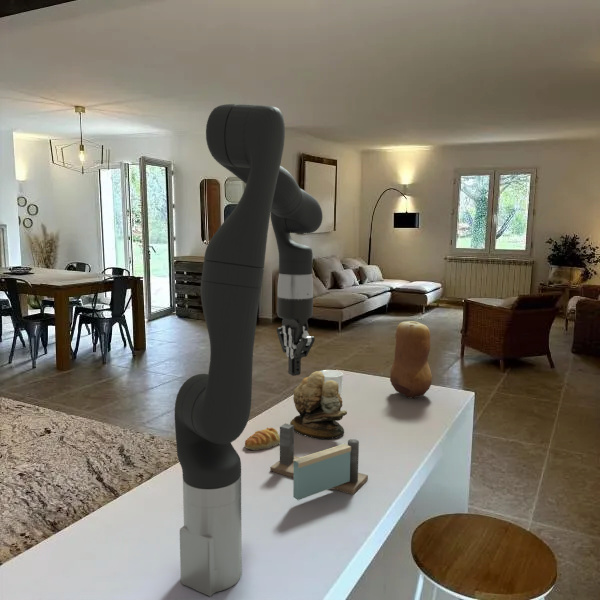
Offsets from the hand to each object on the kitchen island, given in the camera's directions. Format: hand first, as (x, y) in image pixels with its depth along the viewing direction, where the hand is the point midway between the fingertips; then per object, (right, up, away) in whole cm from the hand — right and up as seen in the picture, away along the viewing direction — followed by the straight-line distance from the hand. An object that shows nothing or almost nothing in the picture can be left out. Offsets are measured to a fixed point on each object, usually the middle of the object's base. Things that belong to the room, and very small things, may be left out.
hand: (294, 374), depth 118 cm
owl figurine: (+6, -20, +34) cm, 40 cm away
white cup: (+11, -17, +56) cm, 59 cm away
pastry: (-8, -22, +24) cm, 34 cm away
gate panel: (+6, -24, -2) cm, 25 cm away
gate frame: (+5, -24, +7) cm, 26 cm away
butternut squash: (+38, -16, +64) cm, 76 cm away
